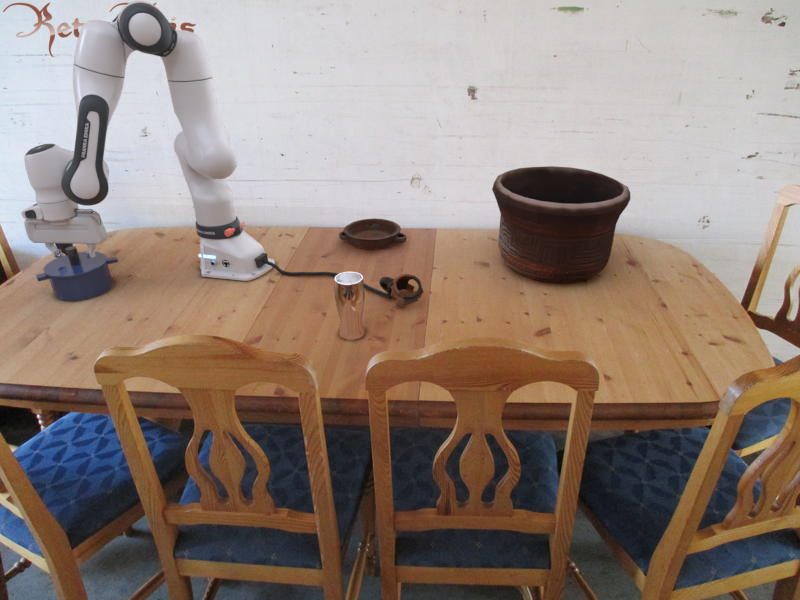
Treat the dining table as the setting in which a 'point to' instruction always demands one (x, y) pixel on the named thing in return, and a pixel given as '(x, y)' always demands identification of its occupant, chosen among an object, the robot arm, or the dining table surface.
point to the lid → (74, 264)
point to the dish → (373, 233)
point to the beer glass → (350, 304)
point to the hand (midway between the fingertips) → (75, 257)
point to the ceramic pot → (558, 221)
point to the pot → (82, 283)
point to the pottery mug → (402, 288)
